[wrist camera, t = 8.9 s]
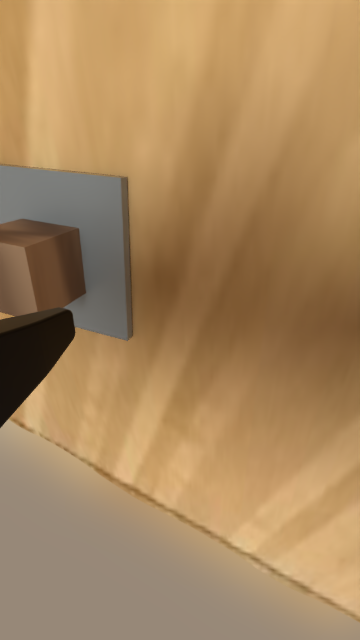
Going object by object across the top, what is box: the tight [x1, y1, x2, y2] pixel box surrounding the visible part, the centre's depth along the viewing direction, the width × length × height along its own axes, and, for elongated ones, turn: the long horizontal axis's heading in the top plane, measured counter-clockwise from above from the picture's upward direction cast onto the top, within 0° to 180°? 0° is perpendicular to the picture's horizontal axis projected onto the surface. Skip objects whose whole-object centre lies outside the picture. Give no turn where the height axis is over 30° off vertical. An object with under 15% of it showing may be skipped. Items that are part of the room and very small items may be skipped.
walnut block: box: [0, 219, 86, 316], centre depth 22 cm, size 5×5×5 cm
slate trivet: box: [0, 164, 132, 341], centre depth 24 cm, size 12×12×1 cm
